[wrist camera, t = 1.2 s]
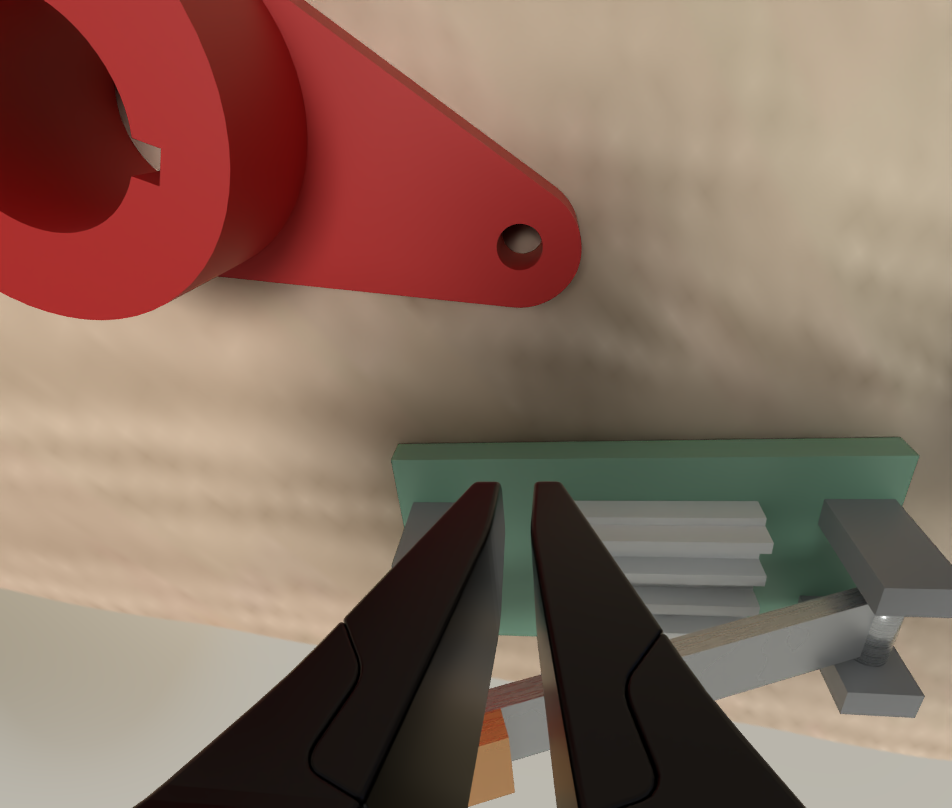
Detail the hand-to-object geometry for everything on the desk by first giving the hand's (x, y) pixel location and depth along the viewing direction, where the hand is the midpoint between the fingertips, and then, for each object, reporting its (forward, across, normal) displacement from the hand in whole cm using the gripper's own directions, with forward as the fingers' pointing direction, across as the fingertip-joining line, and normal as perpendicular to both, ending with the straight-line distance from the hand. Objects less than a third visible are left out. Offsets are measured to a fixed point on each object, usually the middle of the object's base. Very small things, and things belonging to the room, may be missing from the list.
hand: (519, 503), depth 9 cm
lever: (+12, +7, -4) cm, 15 cm away
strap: (+6, -3, +11) cm, 13 cm away
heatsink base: (+12, -4, +12) cm, 17 cm away
